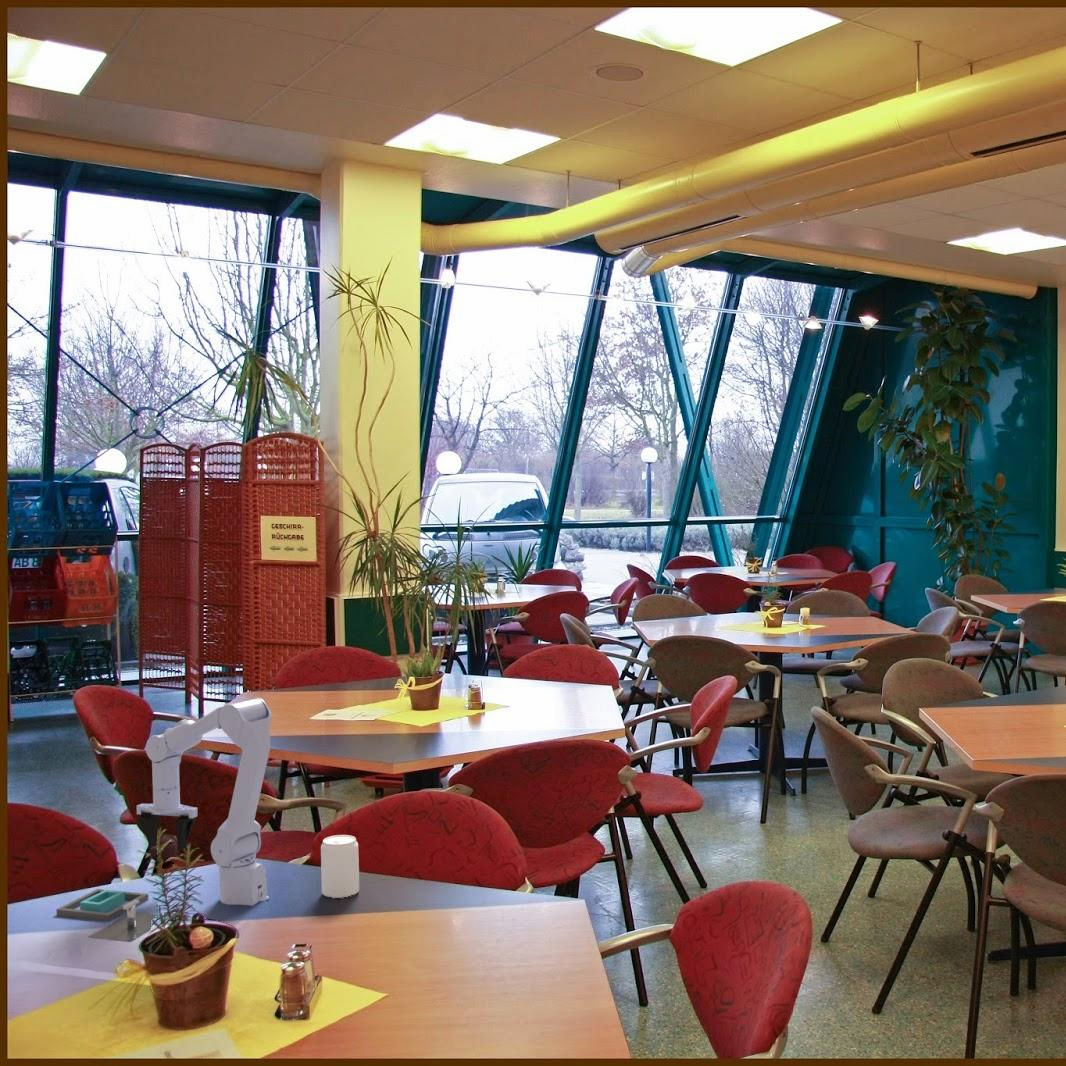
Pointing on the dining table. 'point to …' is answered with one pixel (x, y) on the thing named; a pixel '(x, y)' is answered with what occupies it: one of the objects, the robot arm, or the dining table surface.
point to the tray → (72, 912)
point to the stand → (127, 925)
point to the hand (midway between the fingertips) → (167, 847)
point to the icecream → (166, 849)
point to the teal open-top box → (103, 901)
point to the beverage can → (339, 866)
